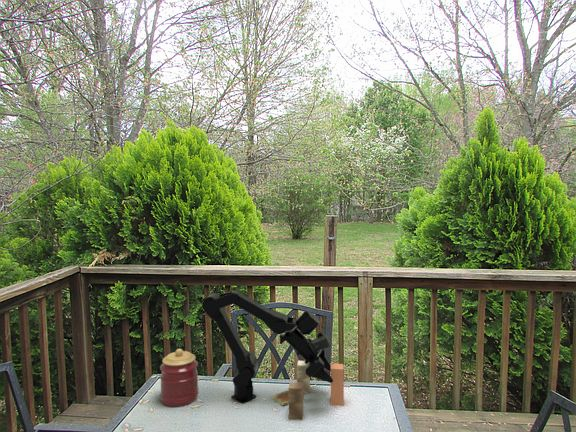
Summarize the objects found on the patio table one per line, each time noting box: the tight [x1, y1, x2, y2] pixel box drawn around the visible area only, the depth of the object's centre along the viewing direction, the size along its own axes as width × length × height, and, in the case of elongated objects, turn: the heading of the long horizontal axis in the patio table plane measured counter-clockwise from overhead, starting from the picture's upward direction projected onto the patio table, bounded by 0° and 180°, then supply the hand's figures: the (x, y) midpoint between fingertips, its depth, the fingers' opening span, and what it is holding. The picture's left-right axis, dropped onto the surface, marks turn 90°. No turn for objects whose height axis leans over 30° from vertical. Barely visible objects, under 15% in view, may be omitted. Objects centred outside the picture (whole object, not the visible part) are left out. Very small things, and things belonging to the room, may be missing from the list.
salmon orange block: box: [330, 363, 345, 407], centre depth 135 cm, size 4×4×12 cm
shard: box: [272, 389, 289, 407], centre depth 138 cm, size 11×8×2 cm
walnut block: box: [288, 381, 305, 421], centre depth 126 cm, size 4×4×10 cm
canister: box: [159, 348, 199, 407], centre depth 138 cm, size 13×13×18 cm
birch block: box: [296, 360, 311, 394], centre depth 144 cm, size 4×4×10 cm
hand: (332, 375), depth 135 cm, fingers open, 9 cm apart
